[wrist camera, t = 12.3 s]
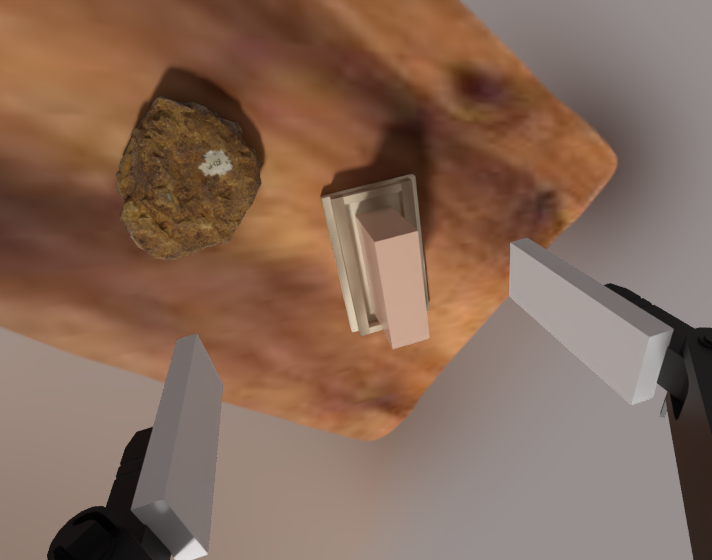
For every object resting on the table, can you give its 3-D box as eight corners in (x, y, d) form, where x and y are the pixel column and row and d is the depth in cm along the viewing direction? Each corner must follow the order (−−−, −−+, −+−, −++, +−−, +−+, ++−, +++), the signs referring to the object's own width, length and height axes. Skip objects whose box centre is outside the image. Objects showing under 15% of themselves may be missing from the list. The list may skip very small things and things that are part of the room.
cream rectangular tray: (350, 327, 48) (354, 338, 46) (320, 195, 40) (323, 201, 38) (426, 306, 49) (433, 315, 47) (411, 173, 41) (419, 178, 39)
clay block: (354, 215, 41) (374, 242, 34) (391, 206, 41) (417, 230, 34) (372, 309, 46) (392, 349, 39) (404, 300, 47) (429, 338, 40)
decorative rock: (219, 271, 42) (275, 140, 38) (218, 287, 38) (280, 146, 34) (100, 231, 37) (150, 76, 33) (86, 246, 33) (140, 74, 29)
